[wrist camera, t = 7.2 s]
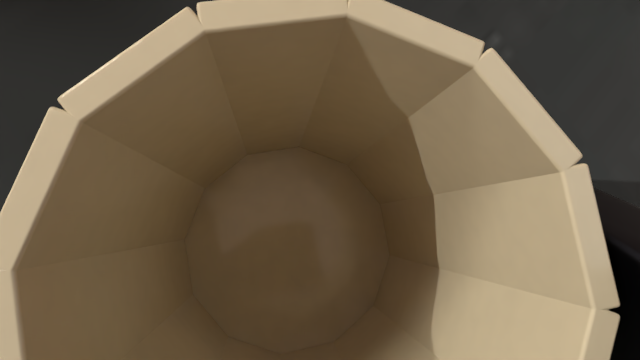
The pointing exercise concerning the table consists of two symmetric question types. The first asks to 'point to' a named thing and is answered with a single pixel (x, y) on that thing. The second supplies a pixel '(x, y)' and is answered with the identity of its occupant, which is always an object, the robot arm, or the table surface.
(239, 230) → the beige cup
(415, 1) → the table surface
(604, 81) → the table surface
